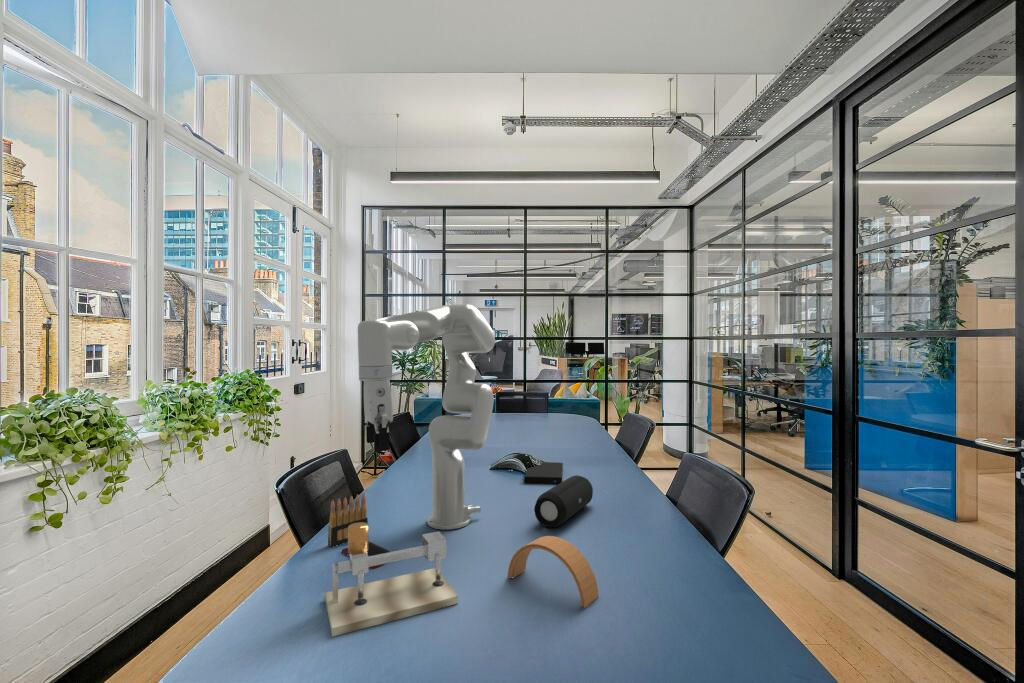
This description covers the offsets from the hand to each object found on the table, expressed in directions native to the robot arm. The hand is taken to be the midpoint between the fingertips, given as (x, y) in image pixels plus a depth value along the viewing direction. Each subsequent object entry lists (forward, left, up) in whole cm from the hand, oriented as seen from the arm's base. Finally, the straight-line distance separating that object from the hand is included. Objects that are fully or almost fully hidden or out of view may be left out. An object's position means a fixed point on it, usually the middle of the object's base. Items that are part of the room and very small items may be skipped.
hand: (377, 446), depth 111 cm
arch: (-32, +25, -30) cm, 50 cm away
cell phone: (0, -10, -30) cm, 31 cm away
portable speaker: (-58, -10, -29) cm, 66 cm away
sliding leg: (+6, +13, -27) cm, 31 cm away
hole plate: (0, +15, -29) cm, 33 cm away
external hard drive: (-75, -52, -30) cm, 97 cm away
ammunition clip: (+4, -22, -29) cm, 37 cm away
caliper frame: (0, +13, -28) cm, 30 cm away
